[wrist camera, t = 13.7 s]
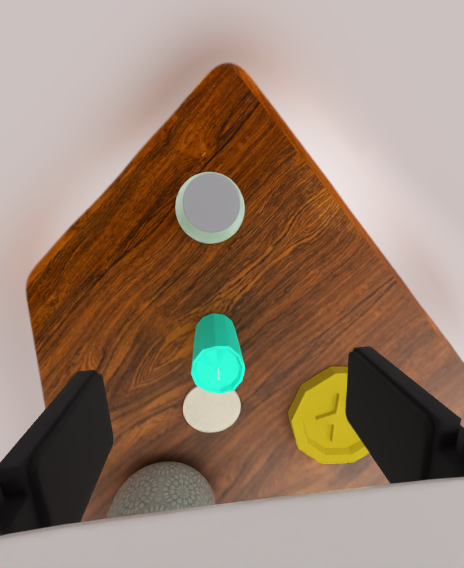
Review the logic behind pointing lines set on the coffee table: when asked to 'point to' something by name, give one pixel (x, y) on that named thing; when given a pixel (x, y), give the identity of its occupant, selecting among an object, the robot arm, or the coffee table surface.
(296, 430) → the decorative disc
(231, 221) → the container
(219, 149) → the coffee table surface
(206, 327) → the candle
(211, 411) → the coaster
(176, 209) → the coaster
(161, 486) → the planter
